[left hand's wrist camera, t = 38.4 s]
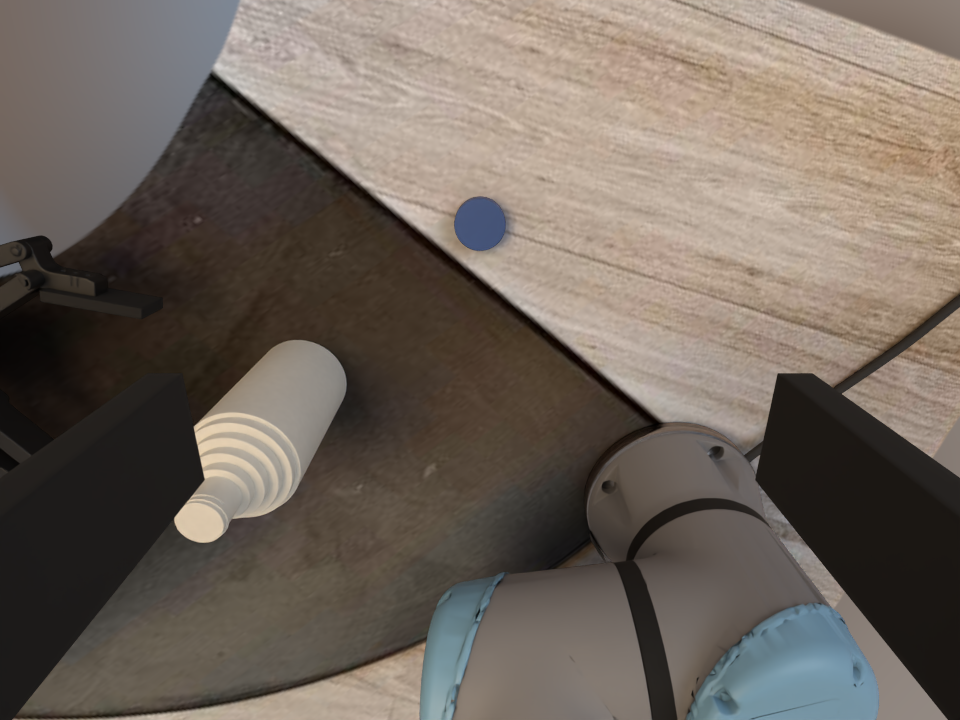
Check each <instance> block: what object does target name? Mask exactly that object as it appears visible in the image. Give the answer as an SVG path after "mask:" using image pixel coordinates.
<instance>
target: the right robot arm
mask: <svg viewBox="0 0 960 720" xmlns="http://www.w3.org/2000/svg"><path fill="white" fill-rule="evenodd" d="M51 250H52V243H51V241H50V240H49V239H48V238H47V237H45V236H36V237H31V238H27V239H22V240H17V241H13V242H9V243H6V244H3V245H0V267H3V266H7V265H10V264H13V263H17V262H19V264H20V266H21V268H22V270H23V272H20V273H17V274H14V276H16V277H14V278H13V279H11V280H10V281H8V282H7V283H5V284H4V285H2V286H1V287H0V319H2V318H3V317H5V316H6V315H8V314H9V313H11V312H12V311H14V310H15V309H17V308H18V307H20V306H21V305H23V304H25V303H26V302H28V301H29V300H31V299H32V298H34V297H35V296H37V295H38V294H40V302H46V303H52V304H57V305H63V306H69V307H75V308H80V309H86V310H92V311H97V312H103V313H109V314H114V315H120V316H126V317H132V318H137V319H143V318H145V317H147V316H149V315H151V314H152V313H154V312H156V311H158V310H160V309H162V308H163V298H161V297H155V296H149V295H144V294H138V293H133V292H127V291H121V290H116V289H110V288H108V281H107V278H106V277H105V276H103V275H101V274H98V273H92V272H87V271H81V270H75V269H70V268H64V267H61V266H59V265H58V264H57V263H56V262H55V261H54V260H53V258H52V256H51V254H50V252H51ZM53 440H54V439H53V438H51V437H50V436H49V435H48V434H46V433H45V432H44V431H43V430H42V429H40V428H39V427H38V426H37V425H35V424H34V423H33V422H32V421H30V420H29V419H28V418H27V417H25V416H24V415H23V414H22V413H20V412H19V411H18V410H17V409H15V408H14V407H13V406H12V405H11V404H10V403H9V396H8V395H7V394H6V393H4V392H3V391H2V390H1V389H0V478H1V477H2V476H4V475H5V474H6V473H8V472H9V471H11V470H12V469H13V468H15V467H16V466H18V465H19V464H21V463H22V462H23V461H25V460H26V459H28V458H29V457H30V456H32V455H33V454H35V453H36V452H37V451H39V450H40V449H42V448H43V447H45V446H46V445H47V444H49V443H50V442H52V441H53Z"/></svg>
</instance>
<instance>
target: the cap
mask: <svg viewBox="0 0 960 720" xmlns="http://www.w3.org/2000/svg"><path fill="white" fill-rule="evenodd" d="M505 226H506V224H505V217H504V214H503V211H502V209H501V208H500V206H499V205H498V204H497V203H496V202H495V201H493V200H491V199H489V198H487V197H473V198H470V199H468V200H467V201H465V202H464V203H463V204H462V205H461V206H460V208H459V209H458V211H457V214H456V217H455V222H454V227H455V232H456V235H457V237H458V239H459V240H460V242H461V243H462V244H463V245H465V246H466V247H468V248H470V249H472V250H477V251H483V250H487V249H490V248H492V247H494V246H495V245H496V244H498V243H499V241H500V240H501V239H502V237H503V235H504V232H505Z"/></svg>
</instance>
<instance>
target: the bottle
mask: <svg viewBox="0 0 960 720" xmlns="http://www.w3.org/2000/svg"><path fill="white" fill-rule="evenodd" d="M346 386H347V383H346V376H345V372H344V370H343V368H342V366H341V364H340V362H339V361H338V360H337V358H336V357H335V356H334V355H333V354H332V353H331V352H330V351H328V350H327V349H325V348H324V347H322V346H320V345H318V344H316V343H313V342H309V341H304V340H291V341H286V342H283V343H280V344H278V345H276V346H275V347H273V348H272V349H271V350H269V351H268V352H267V353H266V354H265V356H264V357H263V358H262V359H261V360H260V361H259V362H258V363H257V364H256V365H255V366H254V367H253V368H252V369H251V370H250V371H249V372H248V373H247V374H246V375H245V376H244V377H243V378H242V379H241V380H240V381H239V382H238V383H237V384H236V385H235V386H234V387H233V388H232V389H231V390H230V391H229V392H228V393H227V394H226V395H225V396H224V397H223V398H222V399H221V400H220V401H219V402H218V403H217V404H216V405H215V406H214V407H213V408H212V409H211V410H210V411H209V412H208V413H207V414H206V415H205V416H204V417H203V418H202V419H201V420H200V421H199V422H198V423H197V424H196V425H195V426H194V431H195V436H196V441H197V445H198V450H199V455H200V459H201V464H202V469H203V473H204V478H205V480H204V482H203V483H202V484H201V485H200V487H199V488H198V489H197V490H196V492H195V493H194V494H193V495H192V497H191V498H190V499H189V500H188V502H187V503H186V504H185V505H184V506H183V508H182V509H181V510H180V511H179V513H178V514H177V515H176V516H175V518H174V520H175V525H176V527H177V529H178V530H179V531H180V533H181V534H182V535H184V536H185V537H186V538H188V539H190V540H192V541H195V542H201V543H206V542H211V541H214V540H216V539H217V538H219V537H220V536H221V535H222V534H223V533H225V531H226V530H227V528H228V525H229V522H230V521H231V519H234V518H243V517H256V516H260V515H263V514H266V513H269V512H271V511H273V510H274V509H276V508H277V507H279V506H281V505H282V504H283V503H285V502H286V501H287V500H288V499H289V498H290V497H291V496H292V495H293V494H294V492H295V491H296V489H297V487H298V485H299V483H300V481H301V479H302V477H303V475H304V474H305V472H306V470H307V468H308V466H309V464H310V462H311V460H312V458H313V456H314V454H315V452H316V451H317V449H318V447H319V445H320V443H321V441H322V439H323V437H324V435H325V433H326V431H327V430H328V428H329V426H330V424H331V422H332V420H333V418H334V416H335V414H336V412H337V410H338V408H339V407H340V405H341V403H342V401H343V399H344V396H345V393H346Z"/></svg>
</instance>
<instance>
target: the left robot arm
mask: <svg viewBox="0 0 960 720" xmlns="http://www.w3.org/2000/svg"><path fill="white" fill-rule="evenodd" d="M959 307H960V295H959V296H958V297H956V298H955V299H954V300H952V301H951V302H950V303H948V304H947V305H946V306H945V307H943V308H942V309H941V310H940V311H938V312H937V313H936V314H935V315H934V316H932V317H931V318H930V319H929V320H927V321H926V322H925V323H924V324H922V325H921V326H920V327H919V328H917V329H916V330H915V331H914V332H912V333H911V334H910V335H909V336H907V337H906V338H905V339H903V340H902V341H901V342H899V343H898V344H897V345H895V346H894V347H892V348H891V349H890V350H888V351H887V352H885V353H884V354H882V355H881V356H880V357H878V358H877V359H875V360H874V361H872V362H871V363H870V364H868V365H867V366H865V367H864V368H862V369H861V370H859V371H858V372H856V373H855V374H853V375H852V376H851V377H849V378H848V379H846V380H845V381H843V382H842V383H840V384H839V385H837V386H836V387H834V388H832V387H831V386H829V385H828V384H827V383H825V382H824V381H822V380H821V379H820V378H818V377H817V376H815V375H814V374H813V373H778V375H777V379H776V384H775V389H774V394H773V398H772V403H771V408H770V412H769V417H768V422H767V426H766V431H765V436H764V441H762V442H761V443H760V444H758V445H757V446H756V447H754V448H753V449H752V450H750V451H749V452H748V453H746V454H745V455H743V454H742V453H741V452H740V450H739V449H738V448H737V447H736V446H735V445H734V444H733V443H732V442H731V441H730V440H729V439H728V438H726V437H725V436H723V435H722V434H720V433H719V432H717V431H714V430H712V429H710V428H707V427H704V426H701V425H697V424H691V423H663V424H658V425H653V426H649V427H646V428H643V429H640V430H638V431H635V432H633V433H631V434H629V435H627V436H626V437H624V438H622V439H621V440H619V441H618V442H616V443H615V444H614V445H613V446H611V447H610V448H609V449H608V450H607V451H606V452H605V453H604V454H603V455H602V456H601V458H600V459H599V460H598V461H597V463H596V464H595V466H594V467H593V469H592V471H591V473H590V475H589V477H588V480H587V483H586V487H585V492H584V509H585V514H586V518H587V522H588V525H589V528H590V532H591V534H592V536H593V538H594V539H593V538H592V536H591V535H590V533H589V535H590V539H591V542H592V543H593V545H594V546H595V548H596V549H597V551H598V552H599V554H600V555H601V557H602V558H603V560H604V561H605V558H604V555H603V553H602V552H601V550H602V551H603V552H604V553H605V554H606V556H607V557H608V558H609V559H610V560H611V561H612V562H609V563H606V561H605V563H601V564H593V565H584V566H576V567H568V568H559V569H551V570H543V571H534V572H526V573H516V574H509V572H502V573H499V574H497V575H496V576H493V577H487V578H482V579H476V580H471V581H465V582H460V583H457V584H455V585H453V586H452V587H450V588H449V589H448V590H447V591H446V592H445V593H444V594H443V596H442V597H441V599H440V600H439V602H438V604H437V607H436V610H435V611H434V614H433V617H432V620H431V624H430V628H429V632H428V637H427V642H426V648H425V654H424V661H423V670H422V679H421V694H420V720H876V718H877V714H878V708H879V691H878V685H877V681H876V678H875V675H874V672H873V670H872V668H871V666H870V664H869V663H868V661H867V659H866V658H865V656H864V655H863V653H862V651H861V650H860V648H859V647H858V645H857V643H856V642H855V640H854V639H853V637H852V635H851V634H850V632H849V631H848V628H847V625H846V624H845V621H844V620H843V618H842V617H841V615H840V614H839V613H838V612H837V611H835V610H834V609H833V608H832V607H831V606H830V605H829V604H828V602H827V601H826V600H825V598H824V597H823V596H822V594H821V593H820V592H819V590H818V589H817V588H816V586H815V585H814V584H813V583H812V581H811V580H810V579H809V577H808V576H807V575H806V573H805V572H804V571H803V569H802V568H801V567H800V565H799V564H798V563H797V562H796V560H795V559H794V558H793V556H792V555H791V554H790V552H789V551H788V550H787V548H786V547H785V546H784V544H783V543H782V542H781V541H780V539H779V538H778V537H777V535H776V534H775V533H774V531H773V530H772V529H771V527H770V526H769V525H768V523H767V522H766V518H765V513H764V509H763V504H762V499H761V495H760V490H759V485H760V487H761V488H762V489H763V490H764V492H765V493H766V494H767V495H768V497H769V498H770V499H771V500H772V502H773V503H774V504H775V505H776V506H777V508H778V509H779V510H780V511H781V513H782V514H783V515H784V516H785V518H786V519H787V520H788V521H789V523H790V524H791V525H792V526H793V528H794V529H795V530H796V531H797V533H798V534H799V535H800V536H801V538H802V539H803V540H804V541H805V543H806V544H807V545H808V546H809V548H810V549H811V550H812V551H813V553H814V554H815V555H816V556H817V557H818V559H819V560H820V561H821V562H822V564H823V565H824V566H825V567H826V569H827V570H828V571H829V572H830V574H831V575H832V576H833V577H834V579H835V580H836V581H837V582H838V584H839V585H840V586H841V587H842V589H843V590H844V591H845V592H846V594H847V595H848V596H849V597H850V599H851V600H852V601H853V602H854V603H855V605H856V606H857V607H858V608H859V610H860V611H861V612H862V613H863V615H864V616H865V617H866V618H867V620H868V621H869V622H870V623H871V625H872V626H873V627H874V628H875V630H876V631H877V632H878V633H879V635H880V636H881V637H882V638H883V640H884V641H885V642H886V643H887V645H888V646H889V647H890V648H891V650H892V651H893V652H894V653H895V654H896V656H897V657H898V658H899V659H900V661H901V662H902V663H903V664H904V666H905V667H906V668H907V669H908V671H909V672H910V673H911V674H912V676H913V677H914V678H915V679H916V681H917V682H918V683H919V684H920V686H921V687H922V688H923V689H924V691H925V692H926V693H927V694H928V696H929V697H930V698H931V699H932V701H933V702H934V703H935V704H936V705H937V707H938V708H939V709H940V710H941V712H942V713H943V714H944V715H945V717H946V718H947V719H948V720H960V478H959V477H958V476H956V475H955V474H953V473H952V472H951V471H949V470H948V469H946V468H945V467H944V466H942V465H941V464H939V463H938V462H937V461H935V460H934V459H932V458H931V457H930V456H928V455H927V454H925V453H924V452H923V451H921V450H920V449H918V448H917V447H915V446H914V445H913V444H911V443H910V442H908V441H907V440H906V439H904V438H903V437H901V436H900V435H899V434H897V433H896V432H894V431H893V430H892V429H890V428H889V427H887V426H886V425H884V424H883V423H882V422H880V421H879V420H877V419H876V418H875V417H873V416H872V415H870V414H869V413H868V412H866V411H865V410H863V409H862V408H860V407H859V406H858V405H856V404H855V403H853V402H852V401H851V400H849V399H848V398H846V397H845V396H844V395H842V393H843V392H845V391H846V390H848V389H849V388H851V387H852V386H854V385H855V384H857V383H858V382H859V381H861V380H862V379H864V378H865V377H867V376H868V375H870V374H871V373H873V372H874V371H876V370H877V369H879V368H880V367H882V366H883V365H884V364H886V363H887V362H889V361H890V360H892V359H893V358H894V357H896V356H897V355H899V354H900V353H902V352H903V351H904V350H906V349H907V348H908V347H910V346H911V345H912V344H914V343H915V342H916V341H918V340H919V339H920V338H922V337H923V336H924V335H925V334H927V333H928V332H929V331H930V330H932V329H933V328H934V327H935V326H937V325H938V324H939V323H940V322H942V321H943V320H944V319H945V318H947V317H948V316H949V315H950V314H952V313H953V312H954V311H955V310H957V309H958V308H959ZM760 454H761V455H760ZM759 455H760V459H759V464H758V469H757V473H756V474H755V472H754V470H753V468H752V466H751V464H750V463H749V462H751V461H752V460H753V459H755V458H756V457H757V456H759ZM204 480H205V478H204V473H203V469H202V464H201V459H200V455H199V450H198V445H197V441H196V436H195V431H194V426H193V422H192V417H191V412H190V408H189V403H188V398H187V394H186V389H185V384H184V379H183V375H182V373H147V374H146V375H145V376H143V377H142V378H140V379H139V380H138V381H136V382H135V383H133V384H132V385H131V386H129V387H128V388H126V389H125V390H123V391H122V392H121V393H119V394H118V395H116V396H115V397H114V398H112V399H111V400H109V401H108V402H107V403H105V404H104V405H102V406H101V407H100V408H98V409H97V410H95V411H94V412H92V413H91V414H90V415H88V416H87V417H85V418H84V419H83V420H81V421H80V422H78V423H77V424H76V425H74V426H73V427H71V428H70V429H68V430H67V431H66V432H64V433H63V434H61V435H60V436H59V437H57V438H56V439H54V440H53V441H52V442H50V443H49V444H47V445H46V446H45V447H43V448H42V449H40V450H39V451H37V452H36V453H35V454H33V455H32V456H30V457H29V458H28V459H26V460H25V461H23V462H22V463H21V464H19V465H18V466H16V467H15V468H13V469H12V470H11V471H9V472H8V473H6V474H5V475H4V476H2V477H1V478H0V720H12V719H13V718H14V717H15V715H16V714H17V713H18V712H19V710H20V709H21V708H22V707H23V705H24V704H25V703H26V702H27V701H28V699H29V698H30V697H31V696H32V694H33V693H34V692H35V691H36V689H37V688H38V687H39V686H40V684H41V683H42V682H43V681H44V679H45V678H46V677H47V676H48V674H49V673H50V672H51V671H52V669H53V668H54V667H55V666H56V664H57V663H58V662H59V661H60V659H61V658H62V657H63V656H64V654H65V653H66V652H67V651H68V650H69V648H70V647H71V646H72V645H73V643H74V642H75V641H76V640H77V638H78V637H79V636H80V635H81V633H82V632H83V631H84V630H85V628H86V627H87V626H88V625H89V623H90V622H91V621H92V620H93V618H94V617H95V616H96V615H97V613H98V612H99V611H100V610H101V608H102V607H103V606H104V605H105V604H106V602H107V601H108V600H109V599H110V597H111V596H112V595H113V594H114V592H115V591H116V590H117V589H118V587H119V586H120V585H121V584H122V582H123V581H124V580H125V579H126V577H127V576H128V575H129V574H130V572H131V571H132V570H133V569H134V567H135V566H136V565H137V564H138V562H139V561H140V560H141V559H142V557H143V556H144V555H145V554H146V553H147V551H148V550H149V549H150V548H151V546H152V545H153V544H154V543H155V541H156V540H157V539H158V538H159V536H160V535H161V534H162V533H163V531H164V530H165V529H166V528H167V526H168V525H169V524H170V523H171V521H172V520H173V519H174V518H175V516H176V515H177V514H178V513H179V511H180V510H181V509H182V508H183V506H184V505H185V504H186V503H187V502H188V500H189V499H190V498H191V497H192V495H193V494H194V493H195V492H196V490H197V489H198V488H199V487H200V485H201V484H202V483H203V482H204ZM758 484H759V485H758ZM594 540H595V541H594ZM597 545H598V546H599V547H598V546H597ZM599 548H600V549H601V550H600V549H599Z"/></svg>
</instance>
